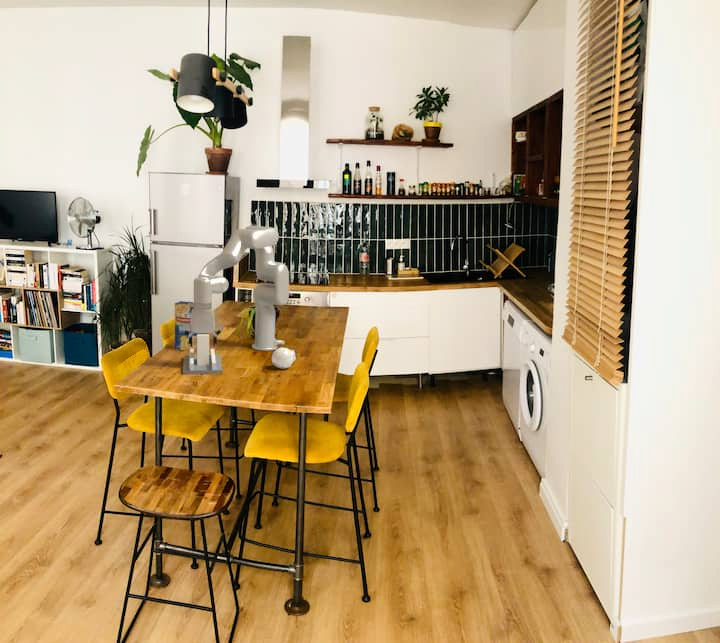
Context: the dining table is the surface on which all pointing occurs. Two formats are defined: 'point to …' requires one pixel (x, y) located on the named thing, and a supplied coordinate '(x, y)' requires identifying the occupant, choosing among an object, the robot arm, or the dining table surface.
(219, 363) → the grey slotted holder base
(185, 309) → the blue food box
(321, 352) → the dining table surface
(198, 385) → the dining table surface
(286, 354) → the white rounded lump
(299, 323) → the dining table surface
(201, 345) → the carton
